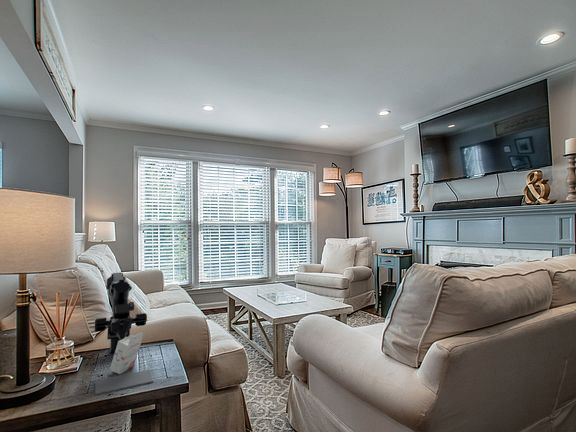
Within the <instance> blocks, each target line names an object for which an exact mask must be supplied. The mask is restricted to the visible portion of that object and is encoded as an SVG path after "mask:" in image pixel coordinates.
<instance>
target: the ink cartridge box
mask: <svg viewBox="0 0 576 432" xmlns="http://www.w3.org/2000/svg"><path fill="white" fill-rule="evenodd" d="M143 337H144V331H142V332H139V333H137V334H136V335H135V334H130V335H129V336H128V337H125V338H124V339H122V340H120V341H118V344H117V347H116V350H115V353H114V354H113V357H112V360H111V365H110V367H109V370H110V371H112V372H113V373H116V374H118V375H122V374H123V373H124V372H126V371H127V370H130V369H131V368H133V366H135V363H136V360H137V357H138V354H139V351H140V347H141V344H142V341H143Z"/></svg>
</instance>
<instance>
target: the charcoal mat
mask: <svg viewBox="0 0 576 432" xmlns="http://www.w3.org/2000/svg"><path fill="white" fill-rule="evenodd" d="M152 383H154V379H153V377H152V374H151V371H150V370H149V369H145V370H140V371H135V372H129V373H124V374H118V375H115V376H110V377H105V378H100V379H96V380H95V381H94V390H95V391H94V392H95V393H94V395H95V396H96V395H101V394H106V393H112V392H115V391H118V390H120V391H121V390H125V389H129V388H134V387H138V386H143V385H147V384H152Z"/></svg>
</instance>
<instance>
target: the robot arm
mask: <svg viewBox="0 0 576 432" xmlns="http://www.w3.org/2000/svg"><path fill="white" fill-rule="evenodd" d="M126 279H127V278H126V277H125V276H124V272H113V273H111V275H110V276H109V277H107V278H106V290H107V293H108V294H107V295H109V296H110V297H111V304H112V305H111V307H112V308H111V309H112V316H110V319H109V320H107V317H98V318H95V320H94V332H95V333H100V332H104V331H105V330H106V329H107V331H106V337H107V338H106V339H107V340H110V345H109V346H110V348H109V349H108V352H109V354H110V355H112V354H113V355H114V354H115V350H116V347H117V344H118V341H120V340H122V339H124V338H126V337H128V336H130V335H131V333H130V332H131V329H132V325H133V323H135V326H136V327H143V326H146V325H147V320H148V314H147V313H146V312H141V313H136V314H135V316H133V317H130V315H131V313H130V312H132V311H134V310H135V302H134V301H131V302H129V295H130V292H131V290H133V289H132V288H133V286H132V285H131V284H130V283H129V281H128V280H126Z"/></svg>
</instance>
